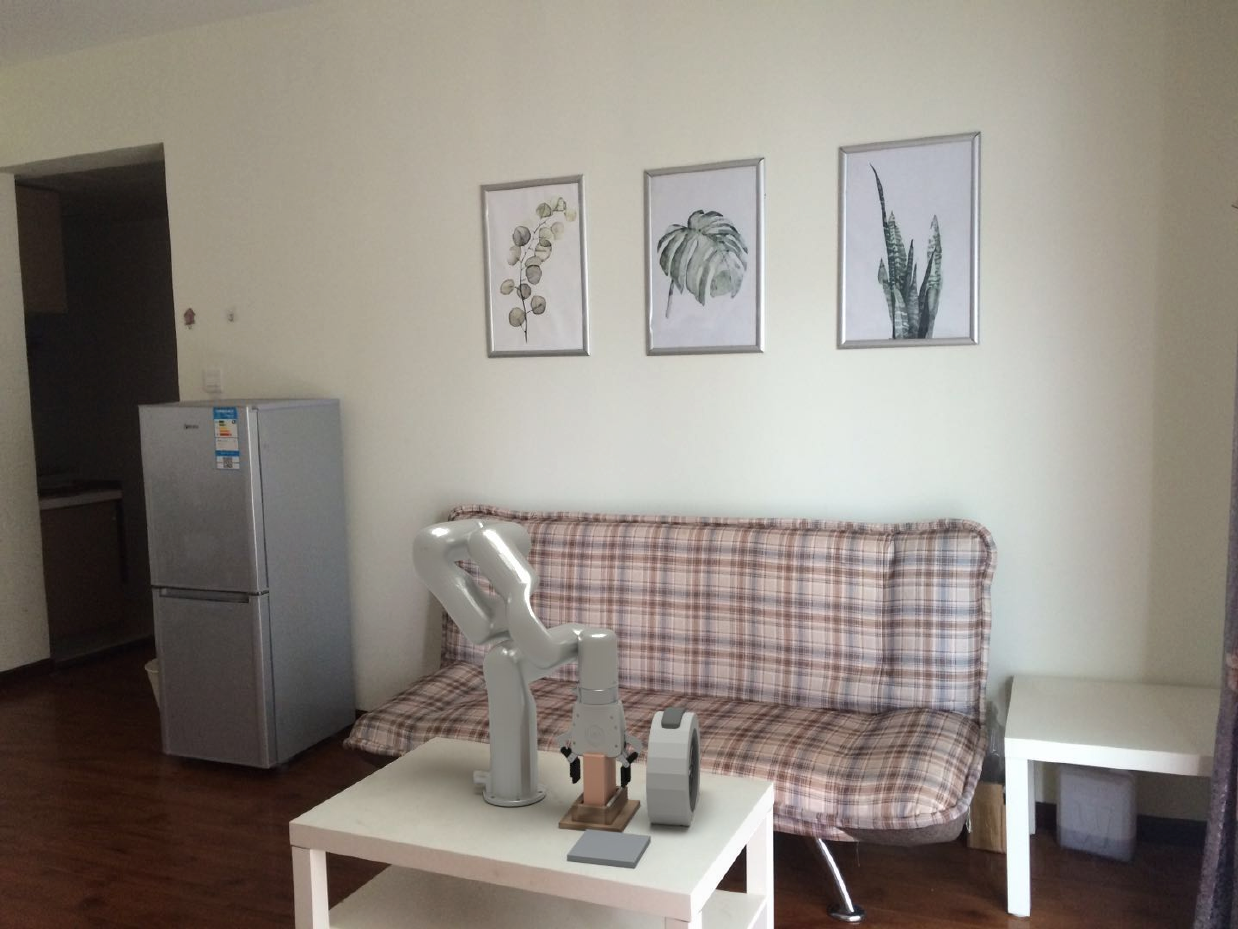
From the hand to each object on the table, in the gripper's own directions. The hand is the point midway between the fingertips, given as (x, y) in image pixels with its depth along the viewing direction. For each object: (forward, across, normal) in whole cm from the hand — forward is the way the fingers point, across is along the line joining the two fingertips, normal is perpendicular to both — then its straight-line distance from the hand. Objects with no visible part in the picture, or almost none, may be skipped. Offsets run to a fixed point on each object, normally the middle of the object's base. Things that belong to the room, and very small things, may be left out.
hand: (600, 783), depth 189 cm
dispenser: (+6, 0, 0) cm, 6 cm away
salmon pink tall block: (+5, 0, 0) cm, 5 cm away
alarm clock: (+7, +13, +6) cm, 16 cm away
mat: (+6, +6, -14) cm, 17 cm away
